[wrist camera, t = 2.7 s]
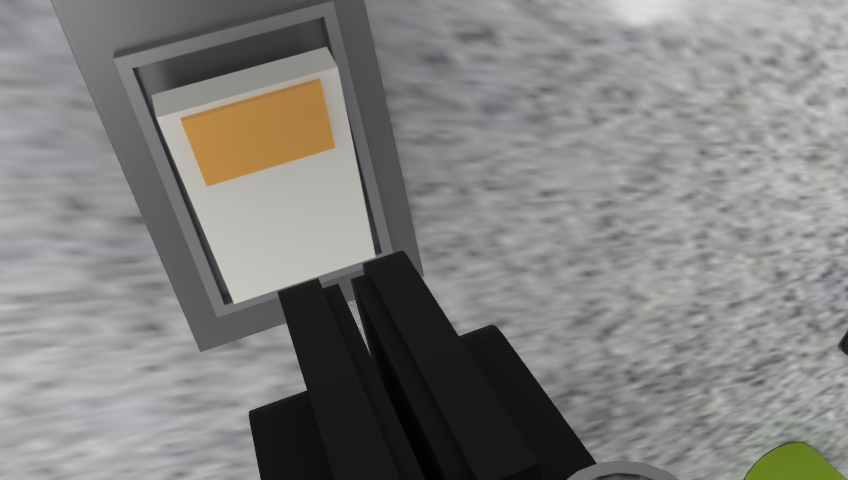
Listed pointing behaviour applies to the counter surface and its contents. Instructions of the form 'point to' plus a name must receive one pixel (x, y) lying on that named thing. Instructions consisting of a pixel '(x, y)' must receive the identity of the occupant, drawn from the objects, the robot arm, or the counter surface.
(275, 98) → the rocker
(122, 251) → the counter surface
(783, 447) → the soap dispenser
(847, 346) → the battery charger
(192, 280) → the rocker switch base
